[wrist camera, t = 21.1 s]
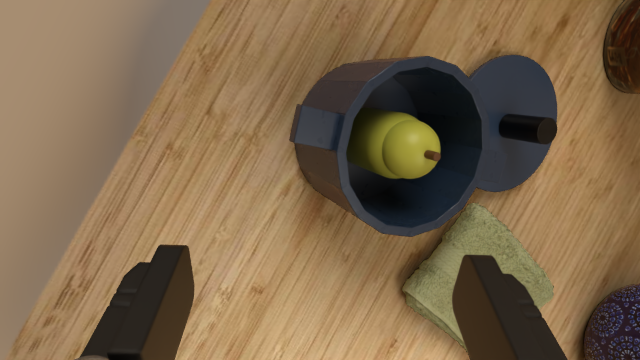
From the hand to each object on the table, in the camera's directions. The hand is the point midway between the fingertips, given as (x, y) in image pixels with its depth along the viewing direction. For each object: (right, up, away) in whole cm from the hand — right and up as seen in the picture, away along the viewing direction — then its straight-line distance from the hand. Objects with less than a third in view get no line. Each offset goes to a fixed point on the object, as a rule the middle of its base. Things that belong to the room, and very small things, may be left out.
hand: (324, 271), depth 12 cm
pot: (+4, +7, +24) cm, 25 cm away
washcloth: (+17, -8, +34) cm, 39 cm away
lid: (+18, +8, +29) cm, 36 cm away
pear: (+4, +6, +24) cm, 25 cm away
